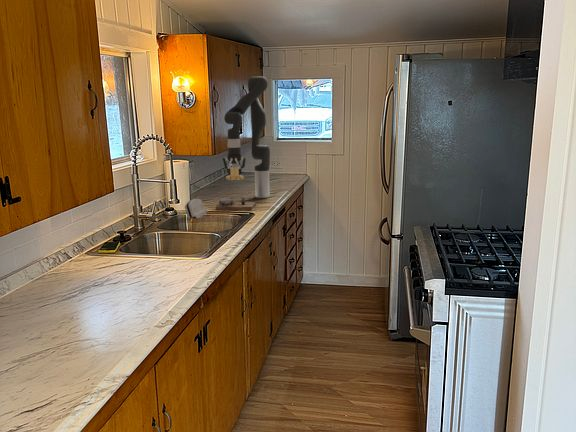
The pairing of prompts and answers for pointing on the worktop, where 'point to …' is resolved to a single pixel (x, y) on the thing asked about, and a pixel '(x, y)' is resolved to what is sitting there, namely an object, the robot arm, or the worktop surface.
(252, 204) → the carrier
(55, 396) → the worktop surface
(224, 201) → the sun gear
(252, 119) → the robot arm
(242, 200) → the carrier pin
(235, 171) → the planet gear
